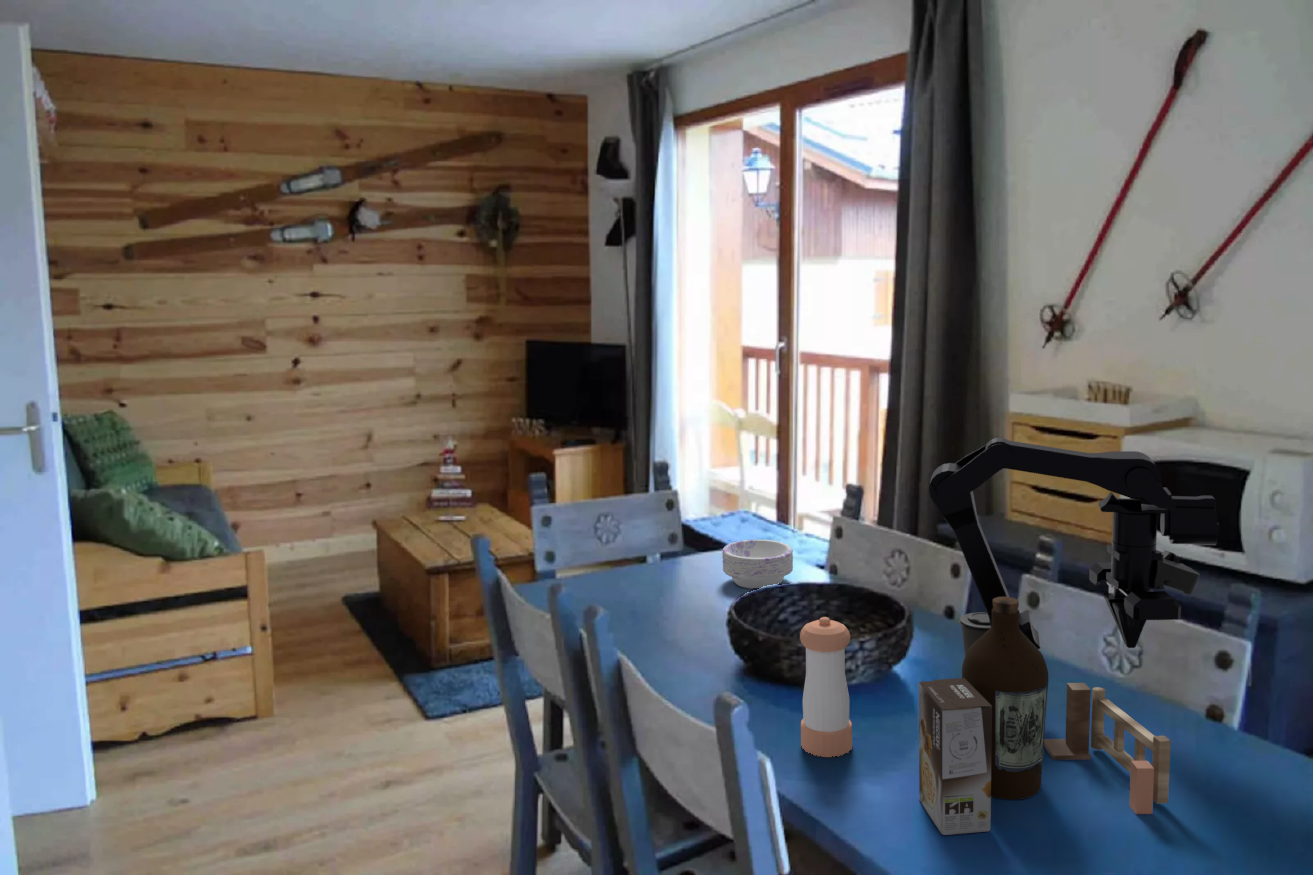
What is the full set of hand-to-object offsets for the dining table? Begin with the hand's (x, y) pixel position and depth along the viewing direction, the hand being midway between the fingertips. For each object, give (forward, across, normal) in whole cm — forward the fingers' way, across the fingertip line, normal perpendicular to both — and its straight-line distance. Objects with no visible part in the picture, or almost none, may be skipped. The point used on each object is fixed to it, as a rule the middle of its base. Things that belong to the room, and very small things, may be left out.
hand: (1130, 647), depth 150 cm
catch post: (+12, -24, +7) cm, 28 cm away
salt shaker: (+12, -6, +44) cm, 46 cm away
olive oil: (+12, -17, +22) cm, 30 cm away
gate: (+11, -15, +6) cm, 20 cm away
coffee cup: (+12, +20, +16) cm, 28 cm away
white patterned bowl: (+12, +72, +52) cm, 90 cm away
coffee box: (+12, -25, +30) cm, 41 cm away
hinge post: (+12, -8, +11) cm, 18 cm away
